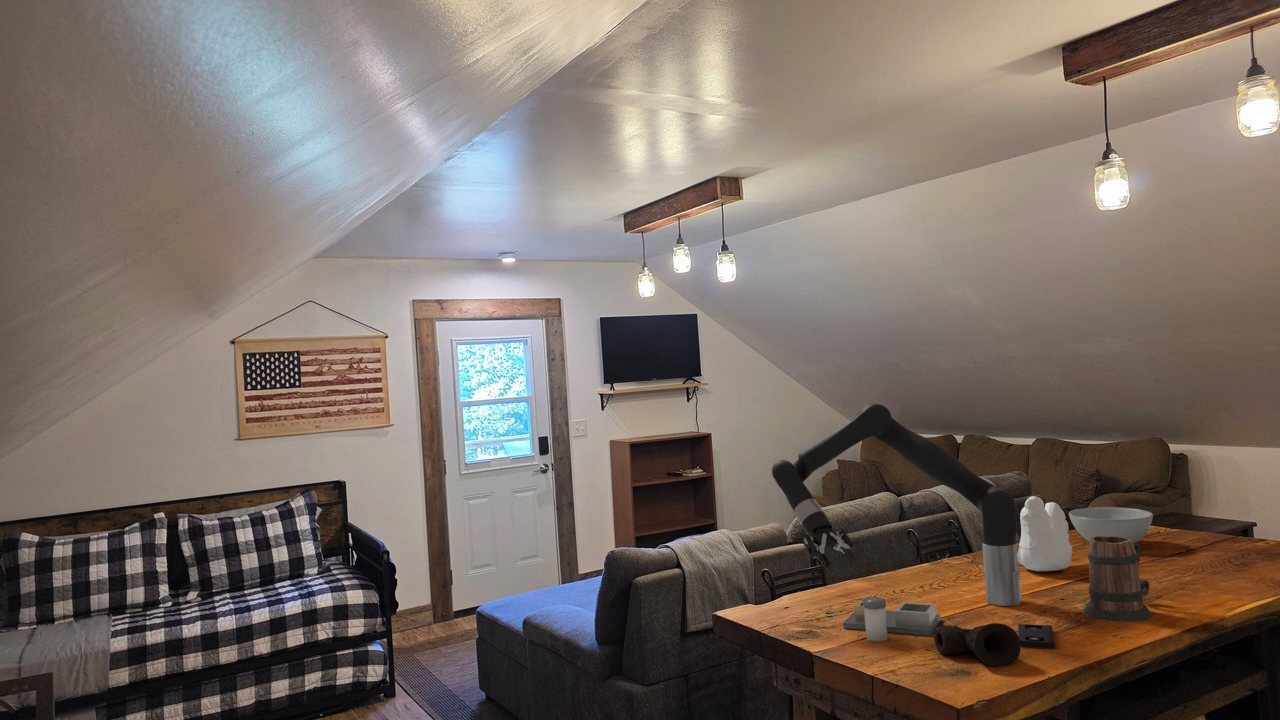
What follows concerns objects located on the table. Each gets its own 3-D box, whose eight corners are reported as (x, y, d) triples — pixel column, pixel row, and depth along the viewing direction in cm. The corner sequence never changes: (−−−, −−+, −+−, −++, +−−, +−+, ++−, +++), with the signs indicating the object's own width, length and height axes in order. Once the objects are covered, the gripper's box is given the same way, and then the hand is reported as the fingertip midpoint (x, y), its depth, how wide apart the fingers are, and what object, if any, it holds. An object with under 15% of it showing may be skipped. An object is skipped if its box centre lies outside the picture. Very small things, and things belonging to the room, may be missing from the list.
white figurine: (1047, 579, 267) (1041, 501, 267) (1006, 570, 281) (1000, 496, 282) (1099, 567, 278) (1093, 491, 278) (1057, 559, 292) (1051, 487, 293)
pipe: (930, 618, 210) (957, 624, 196) (988, 617, 211) (1019, 622, 197) (934, 659, 208) (961, 668, 194) (992, 657, 209) (1023, 666, 195)
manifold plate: (941, 620, 233) (939, 601, 233) (930, 636, 220) (928, 616, 220) (858, 613, 244) (857, 596, 244) (843, 628, 231) (842, 610, 231)
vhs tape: (1018, 631, 220) (1018, 623, 220) (1052, 633, 217) (1051, 625, 217) (1019, 648, 207) (1018, 640, 207) (1055, 650, 204) (1054, 642, 204)
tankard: (1131, 625, 217) (1125, 548, 218) (1069, 612, 232) (1063, 539, 232) (1178, 607, 229) (1172, 534, 230) (1116, 596, 244) (1110, 527, 244)
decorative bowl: (1055, 542, 318) (1053, 510, 318) (1121, 536, 320) (1119, 505, 321) (1102, 557, 291) (1099, 522, 291) (1173, 550, 294) (1170, 515, 294)
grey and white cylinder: (890, 635, 222) (887, 597, 222) (885, 642, 217) (882, 603, 217) (868, 633, 225) (865, 596, 225) (862, 640, 220) (860, 601, 220)
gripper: (798, 513, 238) (827, 560, 228) (837, 507, 245) (867, 553, 234) (787, 529, 243) (815, 576, 232) (826, 523, 249) (855, 569, 239)
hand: (841, 565), depth 233 cm, fingers open, 8 cm apart
